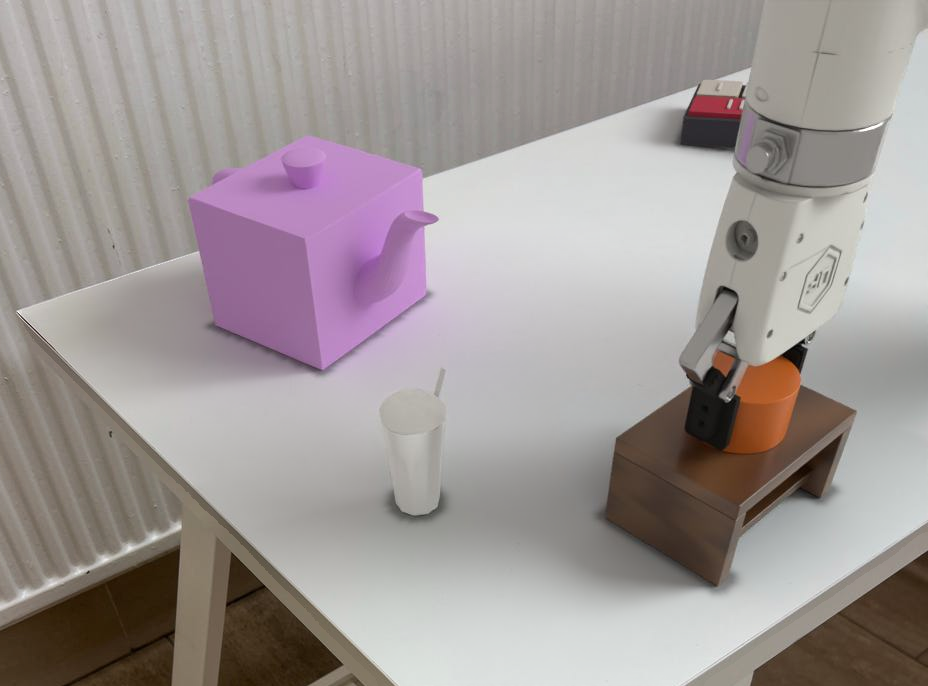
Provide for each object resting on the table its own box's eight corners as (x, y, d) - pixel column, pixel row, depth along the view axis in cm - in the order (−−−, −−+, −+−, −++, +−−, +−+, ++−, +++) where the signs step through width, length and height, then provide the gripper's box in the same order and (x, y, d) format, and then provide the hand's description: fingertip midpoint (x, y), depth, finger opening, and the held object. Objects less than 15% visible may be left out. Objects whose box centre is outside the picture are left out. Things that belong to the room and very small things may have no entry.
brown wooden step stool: (828, 491, 72) (857, 410, 67) (717, 586, 66) (739, 506, 61) (717, 433, 77) (736, 353, 72) (604, 517, 71) (615, 437, 65)
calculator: (699, 75, 117) (830, 81, 113) (695, 113, 120) (822, 121, 116) (683, 110, 110) (821, 118, 106) (679, 150, 113) (813, 158, 109)
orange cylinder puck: (805, 423, 66) (821, 372, 63) (749, 467, 63) (763, 416, 60) (724, 384, 69) (736, 334, 66) (667, 424, 66) (677, 374, 63)
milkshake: (468, 495, 73) (467, 381, 65) (417, 531, 70) (410, 416, 63) (426, 469, 75) (420, 355, 67) (374, 502, 72) (363, 388, 65)
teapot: (388, 398, 81) (375, 235, 70) (177, 309, 91) (139, 154, 80) (489, 317, 89) (492, 160, 78) (286, 243, 99) (264, 95, 88)
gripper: (777, 217, 46) (708, 501, 60) (953, 112, 54) (856, 385, 68) (652, 169, 50) (613, 448, 64) (834, 78, 58) (764, 343, 71)
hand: (739, 413), depth 65 cm, fingers open, 6 cm apart
